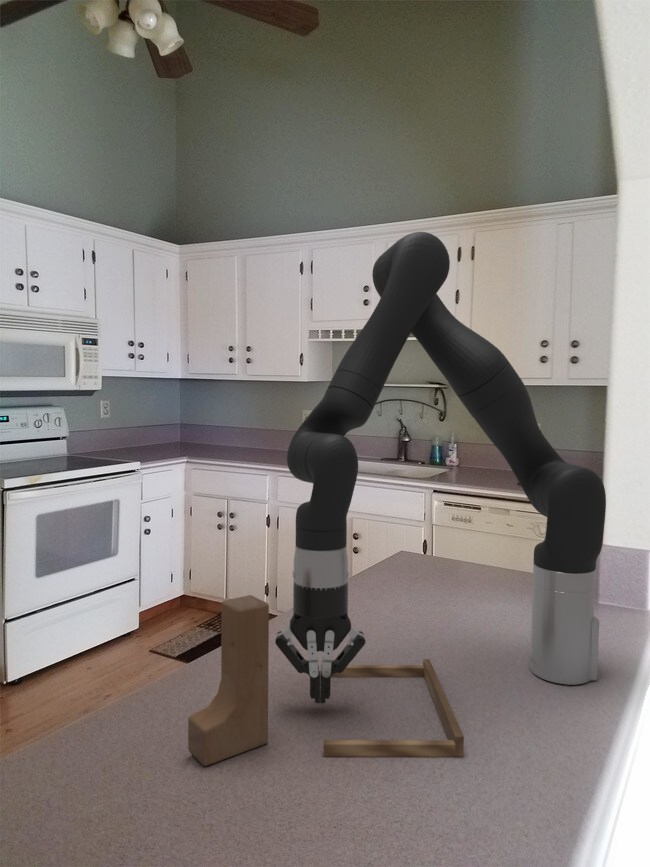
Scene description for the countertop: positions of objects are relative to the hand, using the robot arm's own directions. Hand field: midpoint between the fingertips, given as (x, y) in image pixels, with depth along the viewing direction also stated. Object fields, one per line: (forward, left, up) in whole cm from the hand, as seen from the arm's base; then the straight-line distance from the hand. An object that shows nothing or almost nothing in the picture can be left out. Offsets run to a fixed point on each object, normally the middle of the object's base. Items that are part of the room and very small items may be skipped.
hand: (319, 700), depth 90 cm
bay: (-8, 0, -1) cm, 8 cm away
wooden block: (+11, +10, -2) cm, 15 cm away
